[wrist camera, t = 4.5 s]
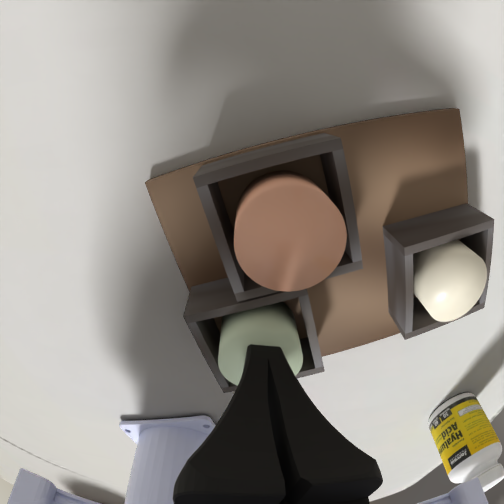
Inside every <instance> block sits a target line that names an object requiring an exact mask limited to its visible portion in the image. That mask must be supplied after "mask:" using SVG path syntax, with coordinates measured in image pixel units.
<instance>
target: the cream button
mask: <svg viewBox="0 0 504 504" xmlns="http://www.w3.org/2000/svg"><path fill="white" fill-rule="evenodd" d="M486 280H487V268H486V264H485V262H484V261H483V259H482V258H481V257H479V256H478V255H477V254H476V253H475V252H473V251H472V250H471V249H469V248H468V247H467V246H466V245H464V244H463V243H462V242H461V241H459V240H458V239H457V240H454V241H451V242H448V243H445V244H442V245H439V246H436V247H433V248H430V249H427V250H423V251H420V252H417V253H414V254H413V293H414V294H415V296H416V297H417V298H418V299H419V301H420V302H421V303H422V305H423V306H424V307H425V309H426V310H427V311H428V313H429V314H430V315H431V316H432V318H434V319H435V320H437V321H440V322H449V321H453V320H455V319H458V318H460V317H461V316H463V315H464V314H466V313H467V312H468V311H469V310H470V309H471V308H472V307H473V306H474V305H475V304H476V302H477V301H478V300H479V298H480V296H481V294H482V292H483V290H484V288H485V284H486Z"/></svg>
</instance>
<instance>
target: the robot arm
mask: <svg viewBox="0 0 504 504" xmlns="http://www.w3.org/2000/svg"><path fill="white" fill-rule="evenodd" d="M119 427H120V428H121V429H122V430H123V431H124V432H125V433H126V434H127V435H128V436H129V437H130V438H131V439H132V440H133V441H134V442H135V443H136V444H137V448H136V452H135V457H134V461H133V465H132V470H131V474H130V479H129V483H128V488H127V493H126V497H125V502H124V504H369V499H368V496H370V495H371V494H372V493H373V492H374V491H376V490H377V489H378V488H379V487H380V486H381V484H382V482H383V479H382V475H381V472H380V469H379V467H378V464H377V462H376V460H375V459H373V458H372V457H370V456H369V455H367V454H366V453H364V452H363V451H361V450H360V449H358V448H357V447H356V446H355V445H353V444H352V443H351V442H350V441H348V440H347V439H346V438H345V437H344V436H343V435H342V434H341V433H340V432H338V431H337V430H336V429H335V428H334V427H333V426H332V425H331V424H330V423H329V422H328V420H327V419H326V418H325V417H324V416H323V415H322V414H321V412H320V411H319V410H318V409H317V408H316V406H315V405H314V404H313V402H312V401H311V400H310V398H309V397H308V395H307V394H306V392H305V391H304V389H303V388H302V386H301V385H300V383H299V381H298V380H297V378H296V376H295V375H294V373H293V371H292V369H291V367H290V365H289V363H288V361H287V359H286V357H285V355H284V353H283V351H282V349H281V347H278V346H265V345H253V344H250V345H249V346H248V347H247V352H246V357H245V363H244V368H243V373H242V376H241V379H240V382H239V384H238V386H237V389H236V391H235V393H234V395H233V397H232V399H231V401H230V403H229V405H228V407H227V408H226V410H225V412H224V414H223V415H222V417H221V418H220V420H219V421H218V423H217V424H216V425H215V424H214V422H213V421H212V419H211V418H210V417H208V416H205V415H202V416H193V417H183V418H171V419H158V420H138V421H121V422H120V424H119ZM7 504H101V503H97V502H94V501H91V500H88V499H85V498H82V497H79V496H76V495H73V494H71V493H68V492H65V491H63V490H60V489H58V488H56V486H55V485H54V484H53V483H52V482H51V481H49V480H47V479H45V478H43V477H41V476H39V475H37V474H34V473H32V472H30V471H28V470H26V469H24V468H20V471H19V473H18V476H17V478H16V481H15V484H14V487H13V489H12V492H11V495H10V497H9V501H8V503H7ZM417 504H488V501H487V499H486V496H485V494H484V491H483V488H482V486H481V483H480V481H479V479H478V477H476V478H474V479H471V480H469V481H466V482H464V483H462V484H460V485H458V486H456V487H455V488H453V489H452V490H451V491H450V492H449V493H447V494H444V495H441V496H438V497H436V498H432V499H429V500H426V501H423V502H420V503H417Z"/></svg>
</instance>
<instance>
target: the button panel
mask: <svg viewBox="0 0 504 504" xmlns="http://www.w3.org/2000/svg"><path fill="white" fill-rule="evenodd" d="M280 170H287V171H294V172H297V173H300V174H303V175H305V176H307V177H308V178H310V179H311V180H312V181H313V182H314V183H316V184H317V186H318V187H319V188H320V189H321V190H322V191H323V192H324V193H325V194H326V195H327V196H328V198H329V199H330V200H331V201H332V202H333V203H334V204H335V206H336V207H337V208H338V209H339V211H340V213H341V215H342V217H343V219H344V222H345V226H346V233H347V240H346V247H345V251H344V254H343V256H342V258H341V260H340V262H339V264H338V265H337V267H336V268H335V269H334V271H333V272H332V273H331V274H330V275H329V276H328V277H326V278H325V279H324V280H323V281H321V282H319V283H318V284H316V285H314V286H312V287H309V288H306V289H303V290H299V291H291V292H285V291H276V290H272V289H268V288H266V287H263V286H261V285H259V284H258V283H256V282H255V281H253V280H252V279H251V278H250V277H249V276H248V275H247V274H246V273H245V272H244V271H243V270H242V268H241V266H240V265H239V263H238V260H237V258H236V254H235V250H234V231H235V219H236V209H237V204H238V201H239V199H240V197H241V194H242V193H243V191H244V190H245V188H246V187H247V186H248V185H249V184H250V183H251V182H252V181H253V180H255V179H256V178H258V177H260V176H262V175H264V174H266V173H269V172H273V171H280ZM145 184H146V187H147V189H148V192H149V195H150V197H151V200H152V203H153V205H154V208H155V210H156V213H157V215H158V218H159V220H160V223H161V226H162V228H163V230H164V233H165V235H166V238H167V240H168V243H169V245H170V248H171V250H172V252H173V255H174V257H175V260H176V262H177V264H178V267H179V269H180V271H181V274H182V276H183V278H184V280H185V283H186V285H187V287H188V289H189V292H190V294H189V298H188V301H187V305H186V309H185V312H184V316H183V317H184V319H185V321H186V323H187V325H188V327H189V329H190V331H191V333H192V335H193V337H194V338H195V340H196V342H197V344H198V346H199V348H200V350H201V352H202V354H203V356H204V358H205V359H206V361H207V363H208V365H209V367H210V369H211V371H212V372H213V374H214V376H215V378H216V380H217V381H218V383H219V385H220V387H221V389H222V390H223V392H224V393H225V392H231V391H236V389H237V385H235V384H233V383H231V382H230V381H228V380H227V379H226V378H225V377H224V376H223V375H222V373H221V371H220V369H219V366H218V355H219V344H220V334H221V323H222V318H223V316H224V315H229V314H233V313H237V312H241V311H246V310H250V309H254V308H258V307H262V306H266V305H270V304H274V303H278V302H282V301H283V302H284V303H285V304H286V305H288V306H289V308H290V309H291V310H292V312H293V314H294V317H295V321H296V326H297V331H298V335H299V340H300V345H301V349H302V354H303V363H302V367H301V369H300V371H299V372H298V374H297V375H296V378H300V377H304V376H309V375H313V374H316V373H320V372H324V367H323V362H322V356H326V355H330V354H334V353H337V352H341V351H344V350H348V349H351V348H354V347H358V346H361V345H364V344H368V343H371V342H374V341H377V340H380V339H383V338H386V337H389V336H392V335H395V334H398V333H401V334H402V336H403V337H404V339H405V340H406V339H408V338H411V337H414V336H417V335H419V334H422V333H425V332H427V331H430V330H433V329H435V328H438V327H440V326H443V325H445V324H448V323H450V322H452V321H449V322H440V321H437V320H435V319H434V318H432V316H431V315H430V314H429V313H428V311H427V310H426V309H425V307H424V306H423V305H422V303H421V302H420V301H419V299H418V298H417V297H416V296H415V294H414V293H413V254H414V253H417V252H420V251H423V250H427V249H430V248H433V247H436V246H439V245H442V244H445V243H448V242H451V241H454V240H457V239H458V240H459V241H461V242H462V243H463V244H464V245H466V246H467V247H468V248H469V249H471V250H472V251H473V252H475V253H476V254H477V255H478V256H479V257H481V258H482V259H483V261H484V262H485V264H486V268H487V280H486V284H485V288H484V290H483V292H482V294H481V296H480V298H479V300H478V301H477V302H476V304H475V305H474V306H473V307H472V308H471V309H470V310H469V311H468V312H467V313H466V314H464V315H463V316H461V317H460V318H462V317H464V316H467V315H469V314H471V313H473V312H476V311H478V310H480V309H482V308H484V305H485V300H486V294H487V288H488V281H489V273H490V265H491V256H492V245H493V231H494V219H493V218H491V217H489V216H488V215H486V214H484V213H483V212H481V211H479V210H477V209H476V208H474V207H472V206H470V205H469V204H468V195H467V174H466V160H465V149H464V140H463V132H462V124H461V117H460V111H459V109H456V108H449V109H440V110H431V111H423V112H416V113H409V114H402V115H395V116H389V117H383V118H377V119H371V120H365V121H360V122H355V123H350V124H345V125H340V126H335V127H330V128H325V129H321V130H316V131H312V132H307V133H303V134H299V135H295V136H291V137H287V138H283V139H279V140H275V141H271V142H267V143H263V144H260V145H256V146H252V147H249V148H245V149H242V150H238V151H235V152H231V153H228V154H225V155H221V156H218V157H215V158H212V159H208V160H205V161H202V162H199V163H196V164H193V165H190V166H187V167H184V168H181V169H178V170H175V171H172V172H169V173H166V174H163V175H161V176H158V177H155V178H152V179H150V180H148V181H147V182H145ZM460 318H458V319H460ZM455 320H457V319H455ZM455 320H453V321H455Z"/></svg>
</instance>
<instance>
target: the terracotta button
mask: <svg viewBox="0 0 504 504" xmlns="http://www.w3.org/2000/svg"><path fill="white" fill-rule="evenodd" d="M346 240H347V233H346V226H345V222H344V219H343V217H342V215H341V213H340V211H339V209H338V208H337V207H336V206H335V204H334V203H333V202H332V201H331V200H330V199H329V198H328V196H327V195H326V194H325V193H324V192H323V191H322V190H321V189H320V188H319V187H318V186H317V184H316V183H314V182H313V181H312V180H311V179H310V178H308V177H307V176H305V175H303V174H300V173H297V172H294V171H287V170H280V171H273V172H269V173H266V174H264V175H262V176H260V177H258V178H256V179H255V180H253V181H252V182H251V183H250V184H249V185H248V186H247V187H246V188H245V190H244V191H243V193H242V194H241V197H240V199H239V201H238V204H237V209H236V219H235V231H234V250H235V254H236V258H237V260H238V263H239V265H240V266H241V268H242V270H243V271H244V272H245V273H246V274H247V275H248V276H249V277H250V278H251V279H252V280H253V281H255V282H256V283H258V284H259V285H261V286H263V287H266V288H268V289H272V290H276V291H285V292H291V291H299V290H303V289H306V288H309V287H312V286H314V285H316V284H318V283H319V282H321V281H323V280H324V279H325V278H326V277H328V276H329V275H330V274H331V273H332V272H333V271H334V269H335V268H336V267H337V265H338V264H339V262H340V260H341V258H342V256H343V254H344V251H345V247H346Z"/></svg>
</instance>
